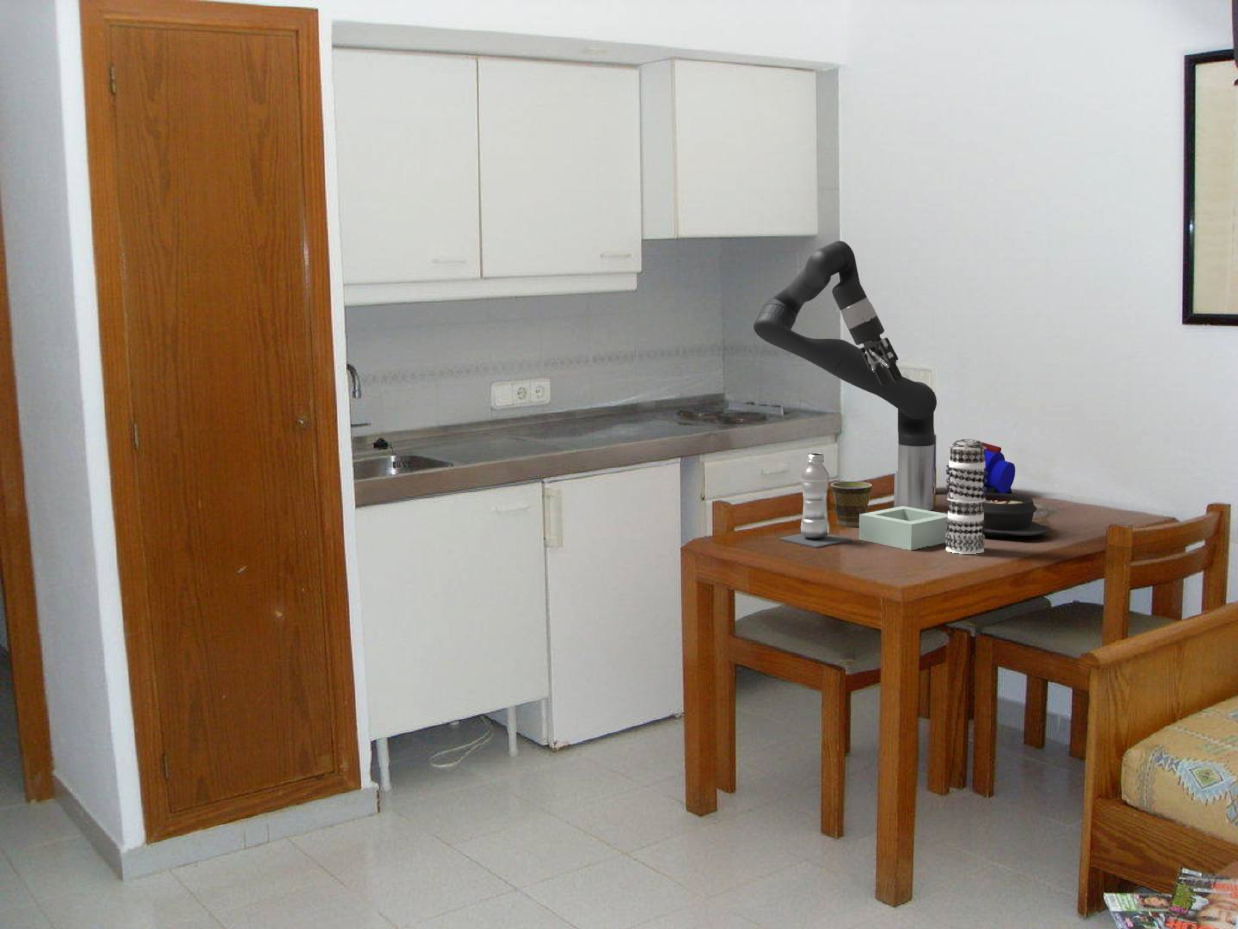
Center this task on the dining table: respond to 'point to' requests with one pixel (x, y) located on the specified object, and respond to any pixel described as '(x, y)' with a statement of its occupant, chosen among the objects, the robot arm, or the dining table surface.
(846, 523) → the ceramic cup
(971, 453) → the black and white cylinder
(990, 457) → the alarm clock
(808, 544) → the rubber mat
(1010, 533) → the casserole
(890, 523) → the holder block
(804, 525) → the plastic bottle
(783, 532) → the dining table surface
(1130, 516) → the dining table surface
